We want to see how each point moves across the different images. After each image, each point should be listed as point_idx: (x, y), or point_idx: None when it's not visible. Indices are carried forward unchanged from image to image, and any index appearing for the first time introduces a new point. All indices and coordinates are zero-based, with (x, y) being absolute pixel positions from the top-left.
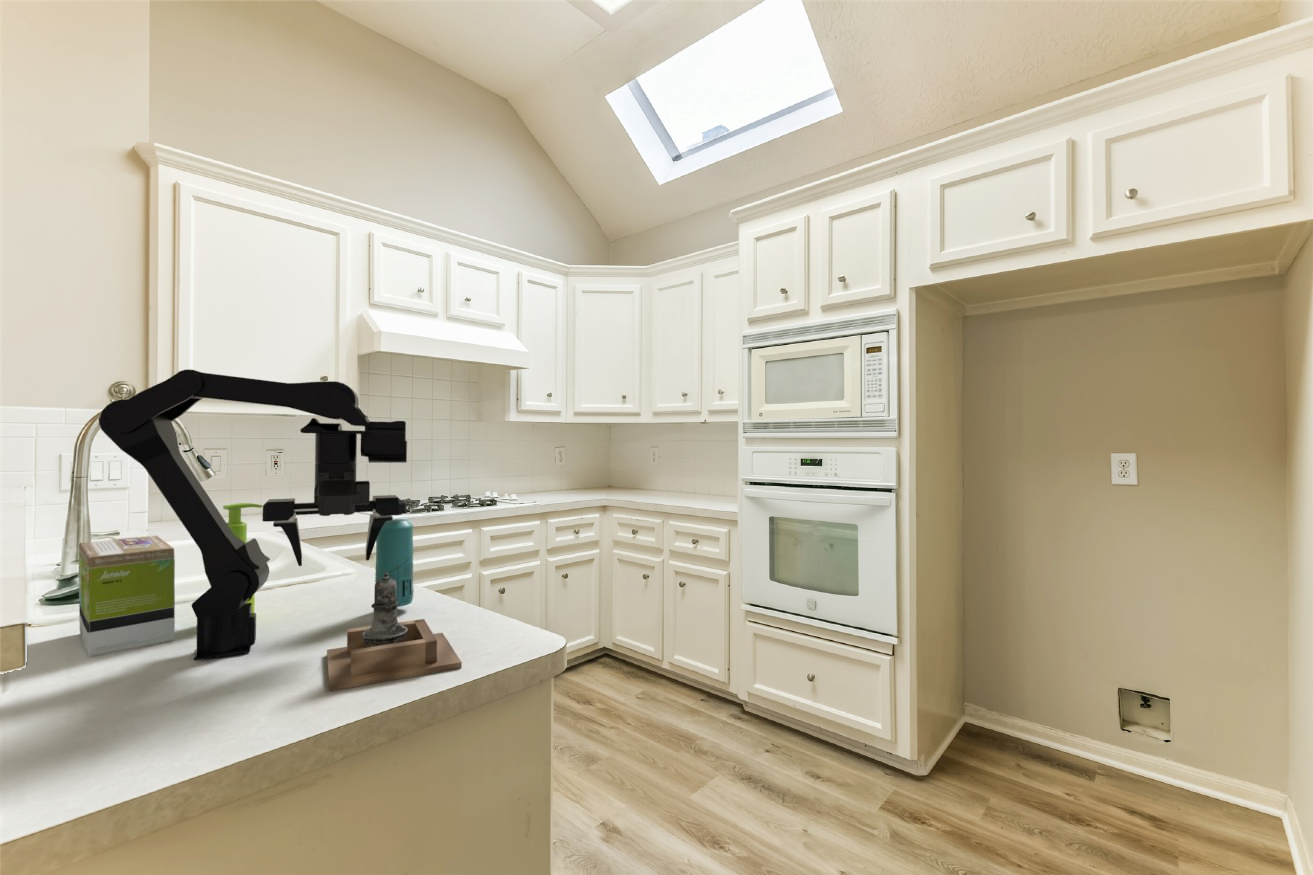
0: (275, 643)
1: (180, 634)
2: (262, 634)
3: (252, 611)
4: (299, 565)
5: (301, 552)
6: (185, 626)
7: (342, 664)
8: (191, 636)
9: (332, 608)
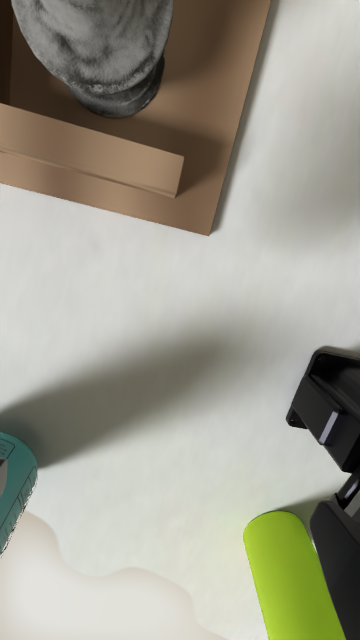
0: (259, 381)
1: None
2: (259, 445)
3: (255, 541)
4: (331, 502)
5: (353, 596)
6: None
7: (215, 82)
8: None
9: (116, 525)
